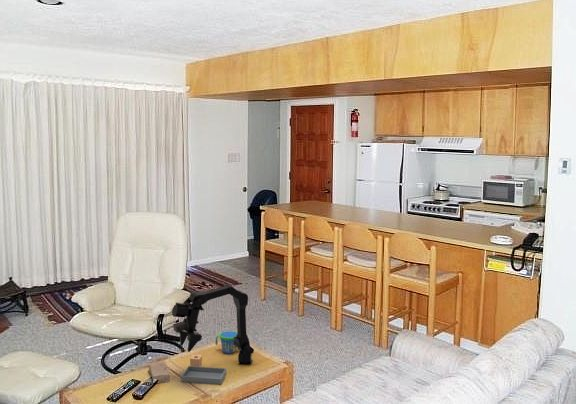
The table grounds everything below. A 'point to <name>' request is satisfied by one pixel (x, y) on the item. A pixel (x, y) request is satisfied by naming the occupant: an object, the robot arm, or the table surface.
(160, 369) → the brick
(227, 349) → the snack cup
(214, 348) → the table surface
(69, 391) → the table surface
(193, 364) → the bored block
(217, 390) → the table surface
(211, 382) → the tray
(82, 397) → the table surface
